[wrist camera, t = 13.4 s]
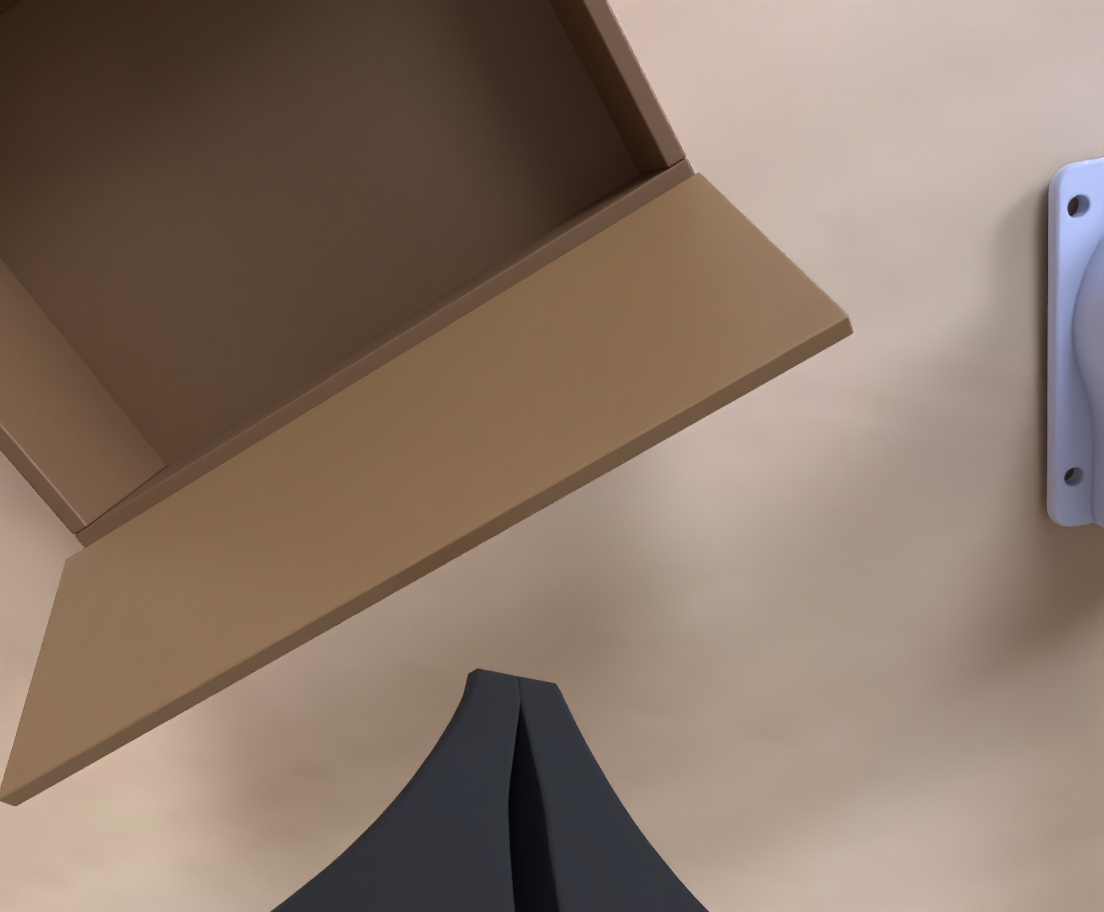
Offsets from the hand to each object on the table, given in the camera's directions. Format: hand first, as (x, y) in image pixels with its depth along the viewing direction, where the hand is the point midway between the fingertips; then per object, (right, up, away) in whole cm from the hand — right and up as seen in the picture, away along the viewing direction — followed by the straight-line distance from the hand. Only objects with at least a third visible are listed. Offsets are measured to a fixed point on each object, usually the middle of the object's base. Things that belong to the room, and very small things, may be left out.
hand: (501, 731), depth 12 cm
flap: (-2, +4, +1) cm, 5 cm away
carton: (-6, +12, +7) cm, 14 cm away
